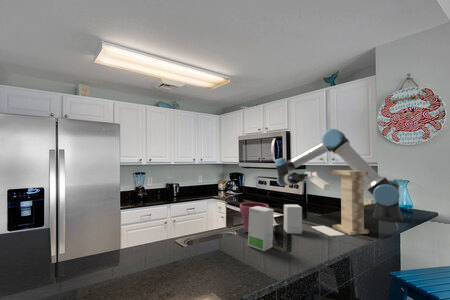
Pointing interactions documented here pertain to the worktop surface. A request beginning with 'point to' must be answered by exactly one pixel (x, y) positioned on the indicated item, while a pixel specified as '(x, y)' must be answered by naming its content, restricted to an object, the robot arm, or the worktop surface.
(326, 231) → the notepad
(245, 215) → the plant pot
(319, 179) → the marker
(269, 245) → the skincare box
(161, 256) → the worktop surface
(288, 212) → the supplement box
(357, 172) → the stand
